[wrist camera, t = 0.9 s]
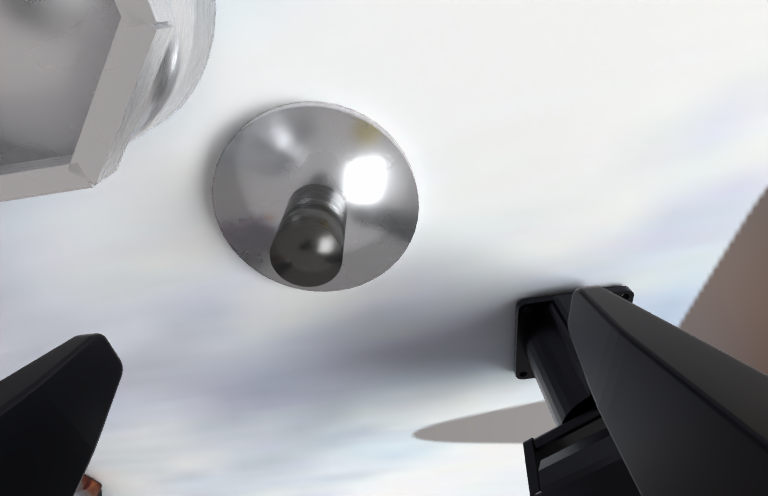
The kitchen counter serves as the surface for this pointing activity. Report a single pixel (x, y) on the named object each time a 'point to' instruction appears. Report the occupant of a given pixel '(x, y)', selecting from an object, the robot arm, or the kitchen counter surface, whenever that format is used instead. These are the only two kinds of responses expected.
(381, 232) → the lid
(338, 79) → the kitchen counter surface
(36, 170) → the pot
